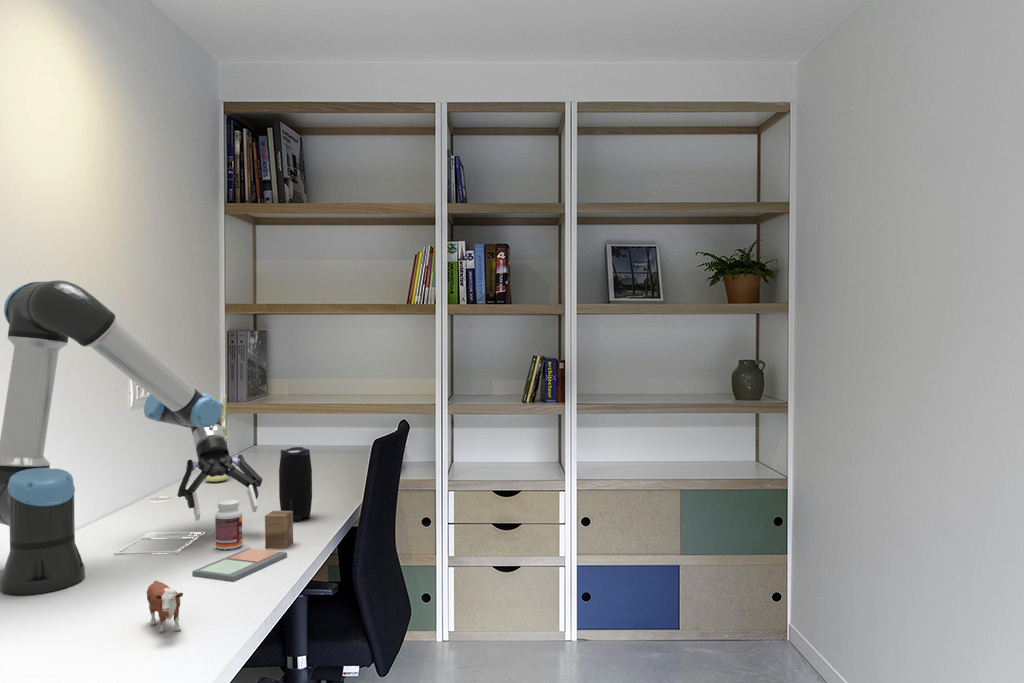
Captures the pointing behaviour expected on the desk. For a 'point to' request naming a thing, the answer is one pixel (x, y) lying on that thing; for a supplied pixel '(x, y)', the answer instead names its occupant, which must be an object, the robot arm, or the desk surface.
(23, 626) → the desk surface
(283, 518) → the walnut block
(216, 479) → the trophy
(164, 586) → the bull figurine
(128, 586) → the desk surface
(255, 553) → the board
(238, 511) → the pill bottle
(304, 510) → the portable speaker
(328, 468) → the desk surface
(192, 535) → the photo frame
